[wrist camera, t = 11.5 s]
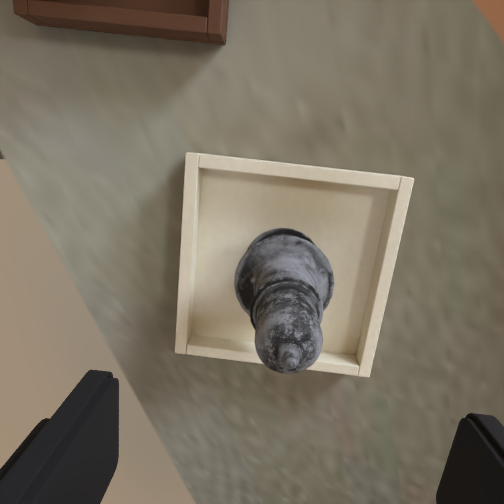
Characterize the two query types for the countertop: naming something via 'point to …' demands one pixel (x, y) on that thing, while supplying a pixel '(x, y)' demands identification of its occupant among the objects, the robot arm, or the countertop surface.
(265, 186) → the light tray
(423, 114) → the countertop surface
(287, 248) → the marbled chess pawn
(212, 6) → the dark tray
